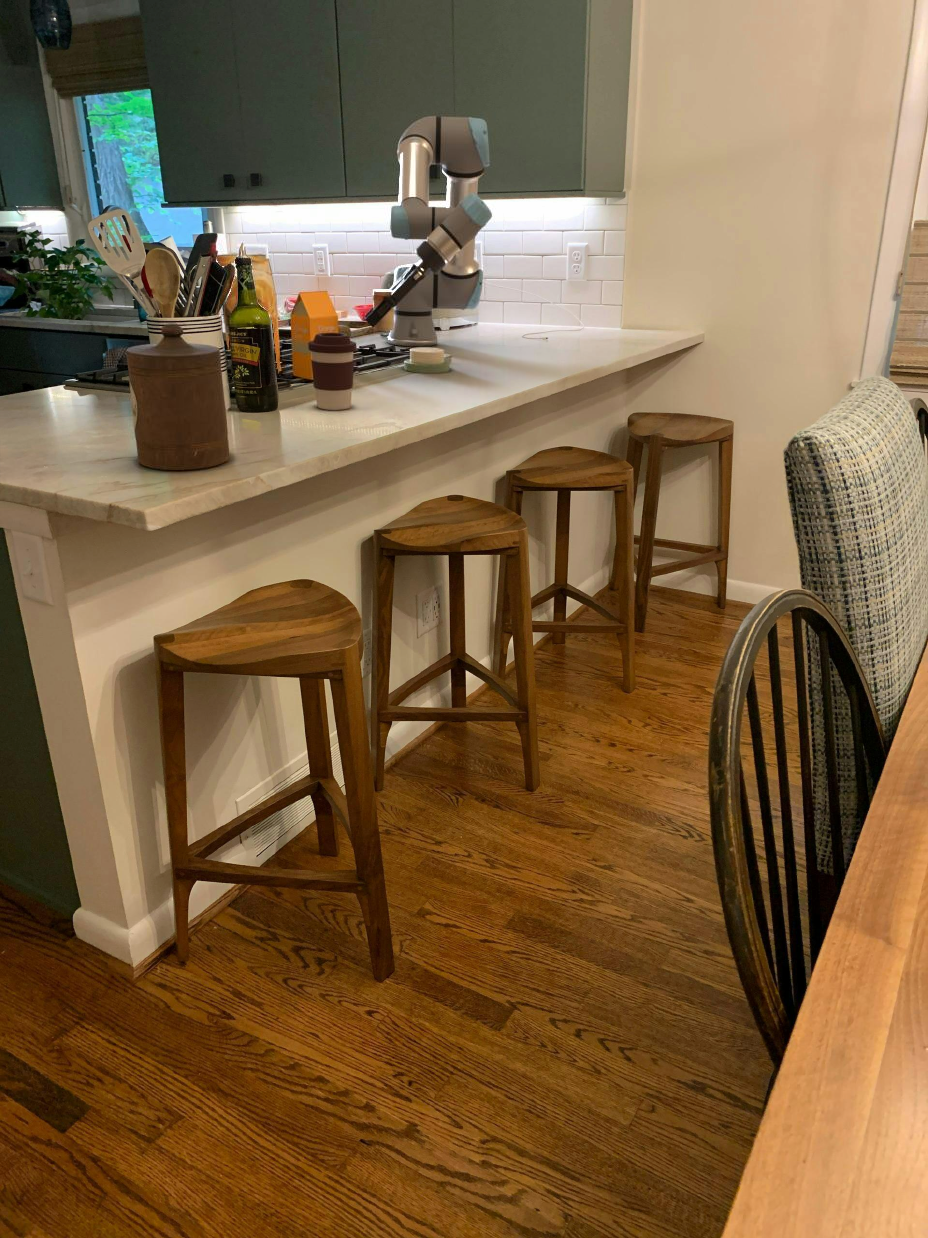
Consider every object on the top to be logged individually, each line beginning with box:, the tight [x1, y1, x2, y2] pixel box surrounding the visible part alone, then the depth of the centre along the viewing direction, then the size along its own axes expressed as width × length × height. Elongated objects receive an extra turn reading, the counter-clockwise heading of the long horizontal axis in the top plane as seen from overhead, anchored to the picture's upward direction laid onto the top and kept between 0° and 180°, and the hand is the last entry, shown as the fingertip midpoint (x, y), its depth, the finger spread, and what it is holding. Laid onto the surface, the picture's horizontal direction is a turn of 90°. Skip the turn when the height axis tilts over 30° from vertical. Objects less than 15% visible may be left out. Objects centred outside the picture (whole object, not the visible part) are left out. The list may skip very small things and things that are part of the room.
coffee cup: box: [308, 333, 357, 411], centre depth 197 cm, size 10×10×15 cm
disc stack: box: [403, 346, 451, 374], centre depth 246 cm, size 12×12×5 cm
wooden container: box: [126, 322, 230, 471], centre depth 153 cm, size 15×15×22 cm
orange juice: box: [290, 290, 339, 381], centre depth 229 cm, size 8×9×20 cm
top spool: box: [372, 289, 394, 332], centre depth 226 cm, size 5×5×9 cm
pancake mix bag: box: [217, 253, 282, 374], centre depth 226 cm, size 7×19×28 cm, turn 141°
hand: (368, 321), depth 227 cm, fingers closed on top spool, 5 cm apart
